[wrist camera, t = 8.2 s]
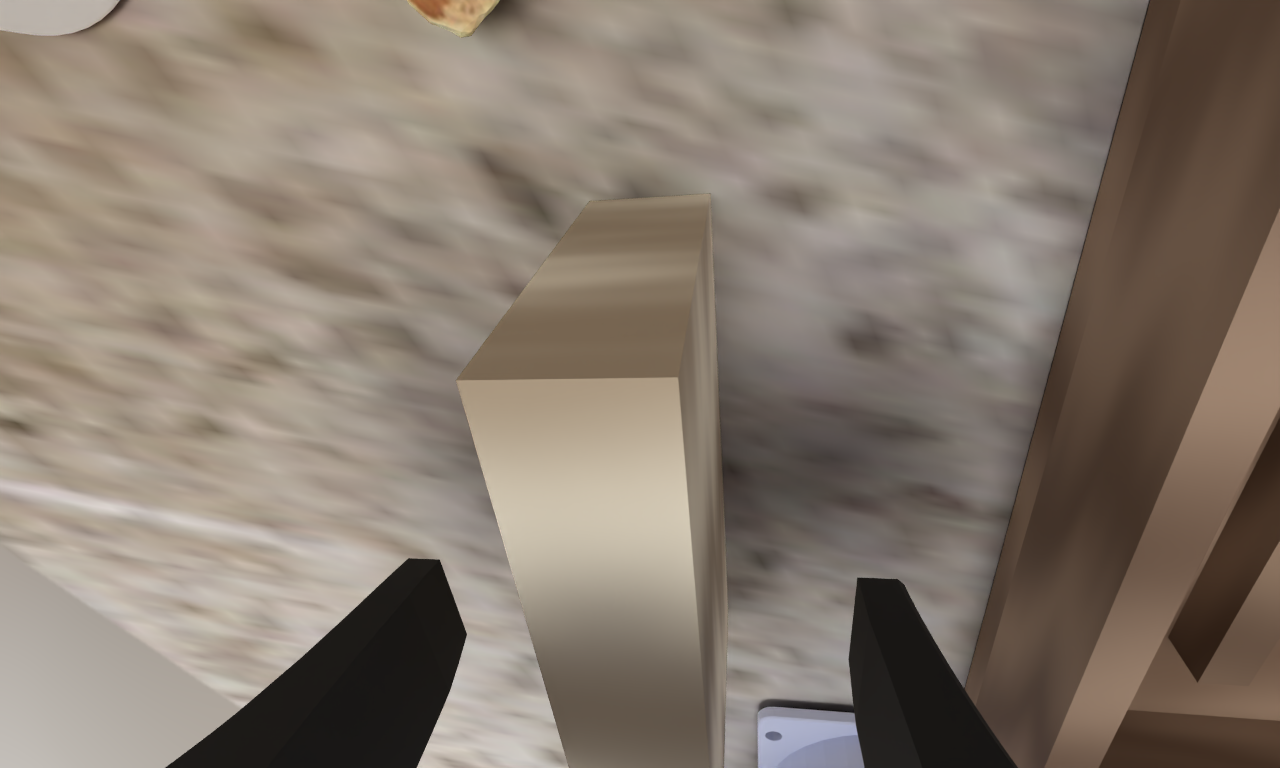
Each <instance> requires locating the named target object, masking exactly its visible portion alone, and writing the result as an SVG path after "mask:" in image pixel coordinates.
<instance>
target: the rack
mask: <svg viewBox="0 0 1280 768" xmlns="http://www.w3.org/2000/svg"><path fill="white" fill-rule="evenodd" d="M965 691H966V692H967V694H968V695H969V697H970V699H971V700H972V702H973V703H974V705H975V706H976V708H977V709H978V711H979V712H980V714H981V715H982V717H983V718H984V720H985V721H986V723H987V724H988V726H989V727H990V729H991V730H992V732H993V733H994V734H995V736H996V737H997V739H998V740H999V742H1000V743H1001V745H1002V746H1003V747H1004V749H1005V750H1006V752H1007V753H1008V754H1009V756H1010V757H1011V759H1012V760H1013V761H1014V763H1015V764H1016V765H1017V767H1018V768H1280V0H1150V4H1149V7H1148V11H1147V15H1146V18H1145V22H1144V26H1143V30H1142V33H1141V37H1140V41H1139V44H1138V48H1137V52H1136V56H1135V59H1134V63H1133V67H1132V70H1131V74H1130V78H1129V82H1128V85H1127V89H1126V93H1125V96H1124V100H1123V104H1122V107H1121V111H1120V115H1119V119H1118V122H1117V126H1116V130H1115V133H1114V137H1113V141H1112V145H1111V148H1110V152H1109V156H1108V159H1107V163H1106V167H1105V171H1104V174H1103V178H1102V182H1101V185H1100V189H1099V193H1098V197H1097V200H1096V204H1095V208H1094V211H1093V215H1092V219H1091V222H1090V226H1089V230H1088V234H1087V237H1086V241H1085V245H1084V248H1083V252H1082V256H1081V260H1080V263H1079V267H1078V271H1077V274H1076V278H1075V282H1074V286H1073V289H1072V293H1071V297H1070V300H1069V304H1068V308H1067V311H1066V315H1065V319H1064V323H1063V326H1062V330H1061V334H1060V337H1059V341H1058V345H1057V349H1056V352H1055V356H1054V360H1053V363H1052V367H1051V371H1050V375H1049V378H1048V382H1047V386H1046V389H1045V393H1044V397H1043V401H1042V404H1041V408H1040V412H1039V415H1038V419H1037V423H1036V426H1035V430H1034V434H1033V438H1032V441H1031V445H1030V449H1029V452H1028V456H1027V460H1026V464H1025V467H1024V471H1023V475H1022V478H1021V482H1020V486H1019V490H1018V493H1017V497H1016V501H1015V504H1014V508H1013V512H1012V515H1011V519H1010V523H1009V527H1008V530H1007V534H1006V538H1005V541H1004V545H1003V549H1002V553H1001V556H1000V560H999V564H998V567H997V571H996V575H995V579H994V582H993V586H992V590H991V593H990V597H989V601H988V605H987V608H986V612H985V616H984V619H983V623H982V627H981V630H980V634H979V638H978V642H977V645H976V649H975V653H974V656H973V660H972V664H971V668H970V671H969V675H968V679H967V682H966V686H965Z"/></svg>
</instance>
